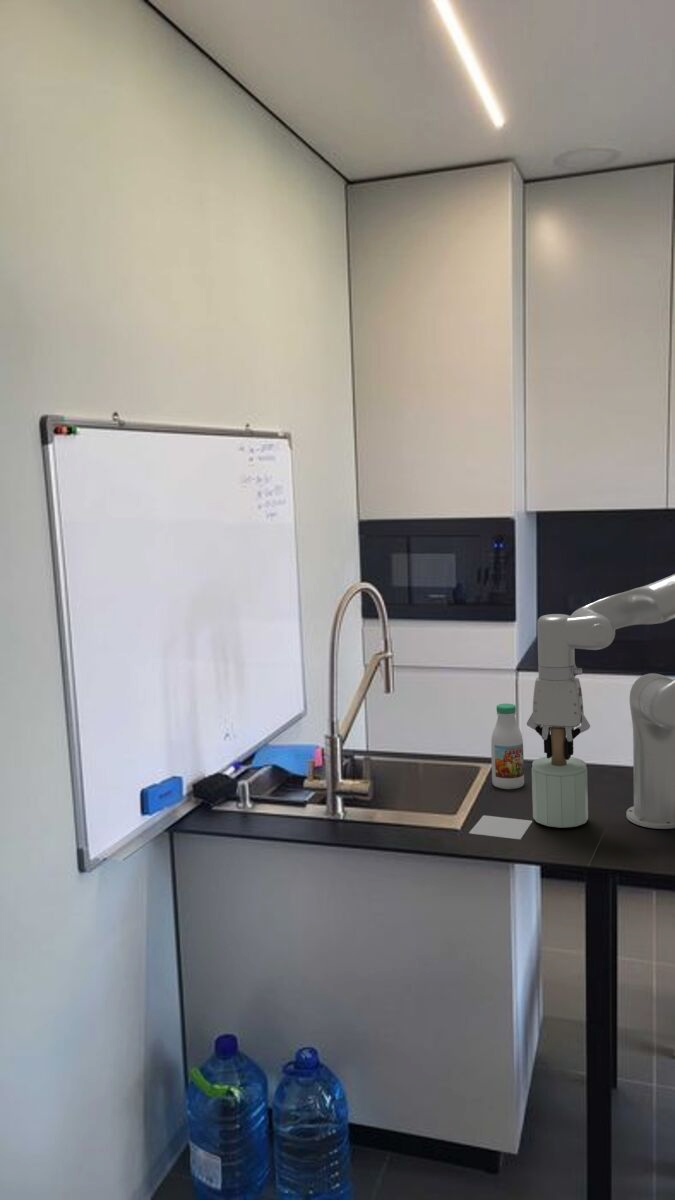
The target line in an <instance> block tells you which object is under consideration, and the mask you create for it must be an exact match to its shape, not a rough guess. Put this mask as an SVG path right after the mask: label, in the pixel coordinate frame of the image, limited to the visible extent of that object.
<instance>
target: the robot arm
mask: <svg viewBox="0 0 675 1200" xmlns="http://www.w3.org/2000/svg"><path fill="white" fill-rule="evenodd" d="M673 619H675V573H673V574H672V575H669V576H667V577H664V578H662V579H659V580H656V581H655V582H650V583H649V584H645V585H643V586H640V587H635V588H633V589H630V590H626V591H624V592H619V593H616V594H612V595H609V596H606V597H603V598H601V599H598V600H596V601H594V602H591V603H589V604H586V605H584V606H581V607H579V608H578V609H576V610H574V611H573V612H572V614H570V615H569V614H563V613H551V614H549V613H548V614H545V615H541V616H540V617H539V618H538V619H537V623H536V624H537V625H536V627H537V628H536V629H537V657H538V658H537V660H538V661H537V663H538V665H537V667H538V671H537V672H538V676H537V677H536V678H535V682H534V688H533V699H532V712H531V714H530V716H529V717H528V720H527V722H526V726H527V727H529V728H531V729H532V730H534V731H535V732H536V733H537V734H538V735H539V736H540V737H541V739H542V740H543V753H544V754H546V757H547V758H551V730H550V727H551V726H556V727H565V730H566V741H565V742H564V746H565V759H566V760H569V758H570V757H572V756H573V755H574V739H575V738H576V737H578V736H579V735H580V734H583V733H584V732H586V731H588V730H590V728H591V725H590V723H589V721H588V719H587V717H586V716H585V714H584V702H583V700H584V699H583V692H582V686H581V681H580V678H578V677H576V676H579V675H580V676H581V675H583V668H580V667H577V666H576V661H575V659H576V658H575V655H576V654H575V653H576V651H575V649H579V650H590V651H598V650H603V649H605V648H607V647H609V646H610V645H611V644H612V643H613V641H614V640H615V636H616V630H618V629H621V628H625V627H630V626H635V625H636V626H637V625H654V624H655V625H656V624H663V623H666V622H669V621H670V620H673ZM629 708H630V716H631V723H632V737H633V738H632V739H633V740H632V745H633V747H632V750H633V751H632V753H633V754H632V755H633V756H632V757H633V761H632V763H633V764H632V765H633V806H631V807H629V808H628V809H627V810H626V813H625V814H626V818H627V820H628V821H629V822H631V823H633V824H634V825H637V826H641V827H644V828H649V829H656V830H657V829H659V830H668V829H669V830H670V829H675V679H671V678H670V677H667V676H665V675H662V674H660V673H647V674H643V675H642V676H639V677H638V678H637V679H636V680H635V681H634V682H633V684H632V686H631V688H630V691H629Z"/></svg>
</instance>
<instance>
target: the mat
mask: <svg viewBox="0 0 675 1200" xmlns="http://www.w3.org/2000/svg"><path fill="white" fill-rule="evenodd" d="M532 823H533V820H529V819H519V818H510V817H501V816H493V815H482V816H481V817H480V819H479V820H478V822H477V823H476V824H475V825H474V826H473V827H472V829H470V830H469V832H468V834H472V835H479V836H485V837H486V836H487V837H496V838H505V839H513V840H522V838H523V836H524V835H525V833H526V832H527V830H528V828H529V827H530V826H531V824H532Z"/></svg>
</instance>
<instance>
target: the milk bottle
mask: <svg viewBox="0 0 675 1200" xmlns="http://www.w3.org/2000/svg"><path fill="white" fill-rule="evenodd" d="M516 711H517V707H516V705H515V704H514V703H513V704H512V703H499V704H497V705H496V715H497V719H496V723H495V726H494V728H493V730H492V734H491V739H490V740H491V742H490V743H491V744H490V745H491V751H490V752H491V780H492V781H491V783H492V785H493V786H494V787H496V788H498V789H502V790H514V789H520V788H521V787H523V786H524V785H525V767H524V766H525V762H524V761H525V760H524V741H523V734H522V732H521V729H520V727H519V725H518V723H517V720H516V714H517V713H516Z"/></svg>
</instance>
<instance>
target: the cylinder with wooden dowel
mask: <svg viewBox="0 0 675 1200" xmlns="http://www.w3.org/2000/svg"><path fill="white" fill-rule="evenodd" d="M550 735H551V758H547V756H544V757H539V758H536V759H534V760H533V761H532V763H531V764H532V767H531V791H532V792H531V795H532V798H531V799H532V818H533V820H535V822H536V823H538V824H541V825H544V826H545V827H546V826H547V827H552V828H574V827H578V826H582V825H584V824H586V823H587V821H588V819H589V798H588V794H589V793H588V792H589V791H588V790H589V788H588V768H587V763H586V762H585V761H584V760H583V759H580V758H577V757H573V756H571V757H570V758H569V760H566V759H565V746H564V742H565V741H566V730H565V727H556V726H551V727H550Z"/></svg>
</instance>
